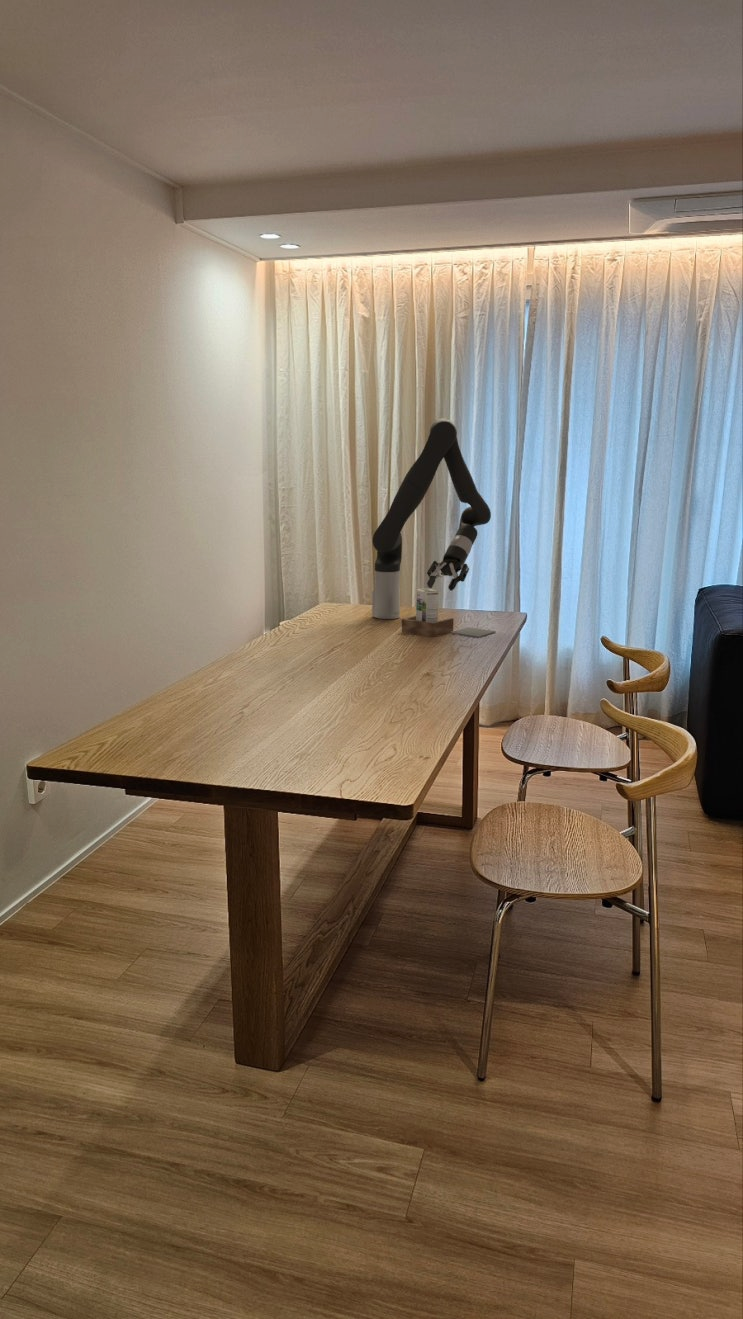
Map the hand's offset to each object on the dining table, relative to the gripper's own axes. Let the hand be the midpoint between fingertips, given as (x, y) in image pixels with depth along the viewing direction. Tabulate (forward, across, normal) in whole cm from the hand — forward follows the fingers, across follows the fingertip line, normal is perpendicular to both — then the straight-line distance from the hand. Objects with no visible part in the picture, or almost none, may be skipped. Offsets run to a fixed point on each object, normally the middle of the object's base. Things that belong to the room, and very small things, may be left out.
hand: (439, 588), depth 316 cm
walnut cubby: (+15, 0, +5) cm, 16 cm away
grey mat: (+10, +13, +10) cm, 20 cm away
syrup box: (+15, 0, +5) cm, 16 cm away
